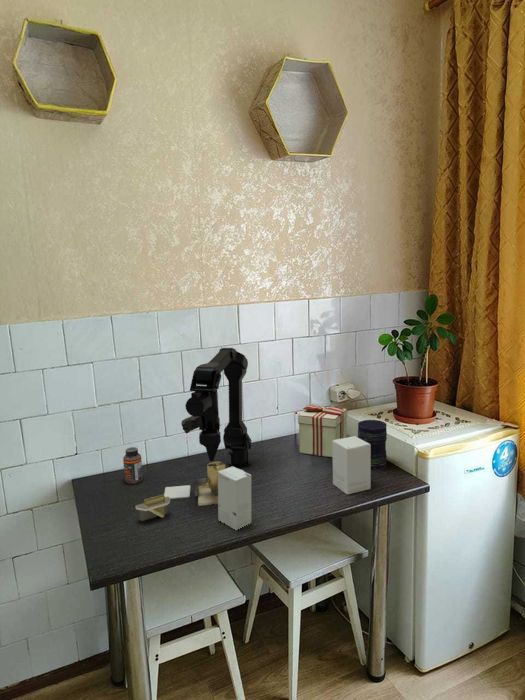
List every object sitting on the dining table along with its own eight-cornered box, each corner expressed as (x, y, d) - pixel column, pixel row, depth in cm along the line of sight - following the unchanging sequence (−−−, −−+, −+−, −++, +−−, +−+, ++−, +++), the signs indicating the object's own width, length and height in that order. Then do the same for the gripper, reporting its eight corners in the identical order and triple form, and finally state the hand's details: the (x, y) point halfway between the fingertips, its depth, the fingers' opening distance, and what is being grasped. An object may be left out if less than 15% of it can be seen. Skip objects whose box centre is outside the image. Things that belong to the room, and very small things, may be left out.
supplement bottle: (121, 482, 168) (118, 450, 166) (133, 475, 173) (130, 444, 171) (134, 485, 165) (132, 453, 163) (146, 478, 170) (144, 447, 168)
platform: (192, 519, 142) (191, 498, 141) (130, 538, 133) (128, 516, 132) (177, 503, 153) (175, 483, 151) (118, 520, 144) (116, 499, 142)
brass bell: (232, 481, 159) (231, 459, 158) (233, 488, 153) (232, 466, 152) (201, 483, 158) (200, 461, 156) (201, 491, 152) (199, 468, 151)
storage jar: (364, 457, 181) (364, 418, 179) (390, 463, 176) (391, 422, 173) (353, 467, 174) (352, 426, 171) (379, 473, 168) (380, 430, 165)
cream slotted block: (238, 484, 163) (238, 469, 162) (241, 502, 151) (240, 485, 150) (195, 488, 161) (194, 472, 160) (194, 506, 149) (193, 489, 148)
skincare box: (218, 521, 140) (215, 471, 138) (234, 513, 144) (232, 464, 142) (237, 531, 134) (234, 480, 132) (253, 523, 138) (251, 473, 136)
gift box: (349, 442, 198) (349, 400, 195) (339, 459, 181) (339, 413, 178) (308, 438, 204) (307, 397, 201) (294, 454, 187) (293, 410, 184)
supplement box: (371, 489, 156) (371, 444, 154) (347, 495, 153) (346, 449, 150) (355, 478, 164) (355, 435, 162) (332, 483, 161) (331, 439, 158)
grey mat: (190, 486, 163) (190, 485, 163) (189, 497, 155) (189, 496, 155) (165, 488, 162) (165, 487, 162) (163, 499, 154) (163, 498, 154)
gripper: (183, 400, 160) (186, 446, 163) (180, 417, 142) (183, 469, 144) (218, 398, 161) (220, 444, 164) (219, 415, 143) (222, 466, 146)
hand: (211, 455), depth 154 cm, fingers open, 9 cm apart
